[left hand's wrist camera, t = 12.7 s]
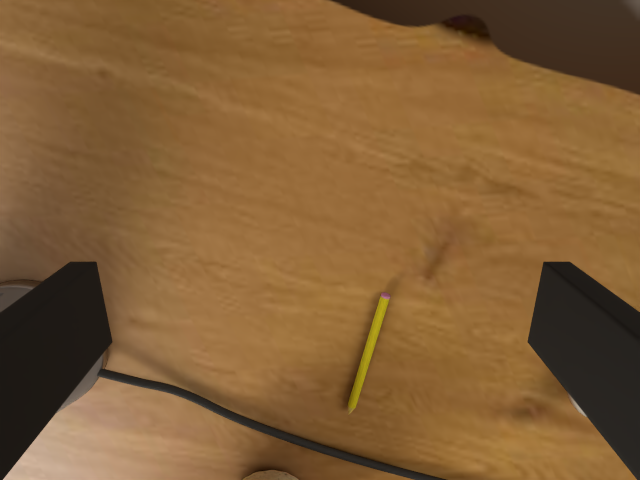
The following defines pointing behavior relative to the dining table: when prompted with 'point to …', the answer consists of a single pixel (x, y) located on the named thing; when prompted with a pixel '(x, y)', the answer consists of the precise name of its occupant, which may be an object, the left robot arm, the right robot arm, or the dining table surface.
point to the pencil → (368, 350)
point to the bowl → (270, 475)
